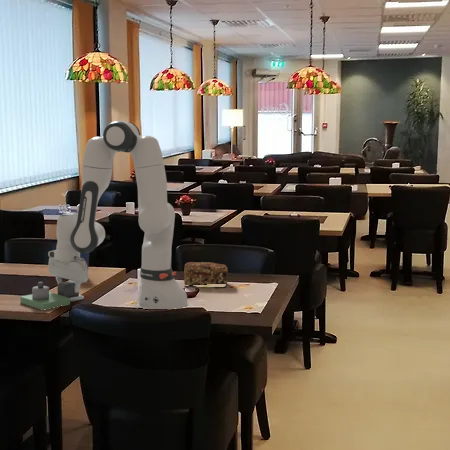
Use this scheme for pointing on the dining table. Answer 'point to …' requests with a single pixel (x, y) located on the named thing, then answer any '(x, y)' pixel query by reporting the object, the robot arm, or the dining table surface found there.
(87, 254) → the cup
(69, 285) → the grey piece
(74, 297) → the bracket
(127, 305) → the dining table surface
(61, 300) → the deck
